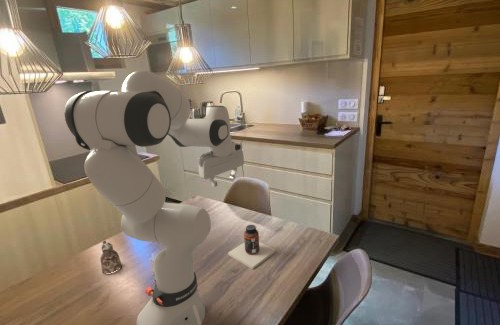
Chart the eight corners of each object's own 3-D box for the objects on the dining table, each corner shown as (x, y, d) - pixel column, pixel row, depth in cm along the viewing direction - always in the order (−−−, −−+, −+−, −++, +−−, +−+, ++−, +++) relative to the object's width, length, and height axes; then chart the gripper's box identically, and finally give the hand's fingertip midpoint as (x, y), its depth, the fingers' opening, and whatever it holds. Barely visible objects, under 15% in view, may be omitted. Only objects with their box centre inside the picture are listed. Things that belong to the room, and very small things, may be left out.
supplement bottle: (258, 255, 112) (256, 231, 109) (243, 254, 113) (241, 230, 110) (260, 247, 118) (259, 223, 114) (247, 246, 119) (245, 222, 115)
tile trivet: (252, 269, 106) (252, 267, 106) (228, 254, 116) (228, 252, 115) (275, 251, 116) (275, 249, 115) (251, 239, 125) (251, 237, 125)
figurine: (103, 277, 107) (96, 250, 103) (101, 267, 113) (94, 242, 109) (123, 269, 111) (116, 243, 107) (120, 260, 116) (113, 235, 113)
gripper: (203, 156, 96) (207, 193, 100) (245, 143, 110) (247, 176, 114) (192, 154, 100) (197, 189, 104) (234, 141, 114) (236, 173, 118)
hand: (223, 182), depth 109 cm, fingers open, 8 cm apart
